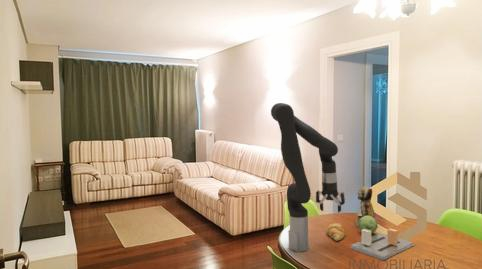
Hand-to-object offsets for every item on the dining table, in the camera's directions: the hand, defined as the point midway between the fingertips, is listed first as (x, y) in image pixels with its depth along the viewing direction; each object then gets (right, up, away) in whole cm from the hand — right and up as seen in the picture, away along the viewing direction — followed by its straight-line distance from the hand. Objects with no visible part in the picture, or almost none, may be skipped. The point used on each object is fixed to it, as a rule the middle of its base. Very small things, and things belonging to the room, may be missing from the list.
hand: (330, 211), depth 175 cm
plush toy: (+28, -15, +27) cm, 42 cm away
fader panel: (+25, -17, -4) cm, 30 cm away
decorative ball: (+25, -16, +16) cm, 34 cm away
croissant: (+6, -17, +15) cm, 23 cm away
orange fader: (+29, -15, -6) cm, 34 cm away
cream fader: (+17, -15, -5) cm, 23 cm away
